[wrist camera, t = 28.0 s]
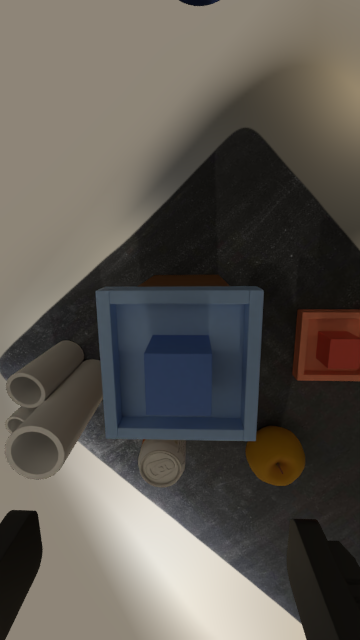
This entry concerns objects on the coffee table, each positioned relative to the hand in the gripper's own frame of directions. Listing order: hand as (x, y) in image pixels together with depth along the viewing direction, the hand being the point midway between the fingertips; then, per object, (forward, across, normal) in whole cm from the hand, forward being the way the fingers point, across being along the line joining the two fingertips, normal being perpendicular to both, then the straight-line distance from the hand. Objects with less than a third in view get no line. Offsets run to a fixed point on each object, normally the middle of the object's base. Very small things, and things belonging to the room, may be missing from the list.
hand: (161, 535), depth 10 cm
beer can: (+40, +3, +18) cm, 44 cm away
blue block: (+15, 0, 0) cm, 15 cm away
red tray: (+40, -23, +6) cm, 47 cm away
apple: (+40, -14, +23) cm, 48 cm away
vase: (+40, +18, +11) cm, 45 cm away
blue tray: (+40, 0, 0) cm, 40 cm away
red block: (+40, -23, +6) cm, 46 cm away
